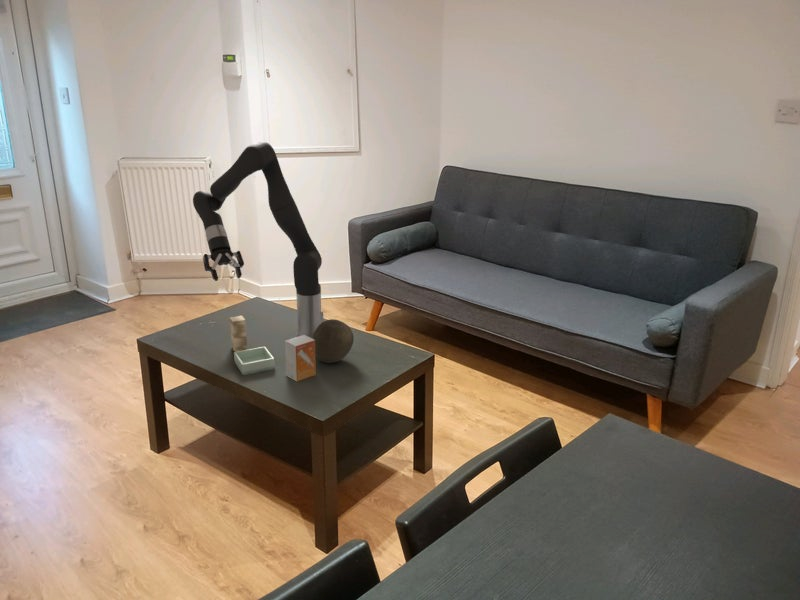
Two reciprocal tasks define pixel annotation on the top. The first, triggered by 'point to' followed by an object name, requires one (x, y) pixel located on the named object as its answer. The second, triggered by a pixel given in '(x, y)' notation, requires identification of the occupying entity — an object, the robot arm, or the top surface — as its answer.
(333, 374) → the top surface
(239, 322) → the birch block
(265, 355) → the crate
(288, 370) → the small box
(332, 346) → the brown leather ball
